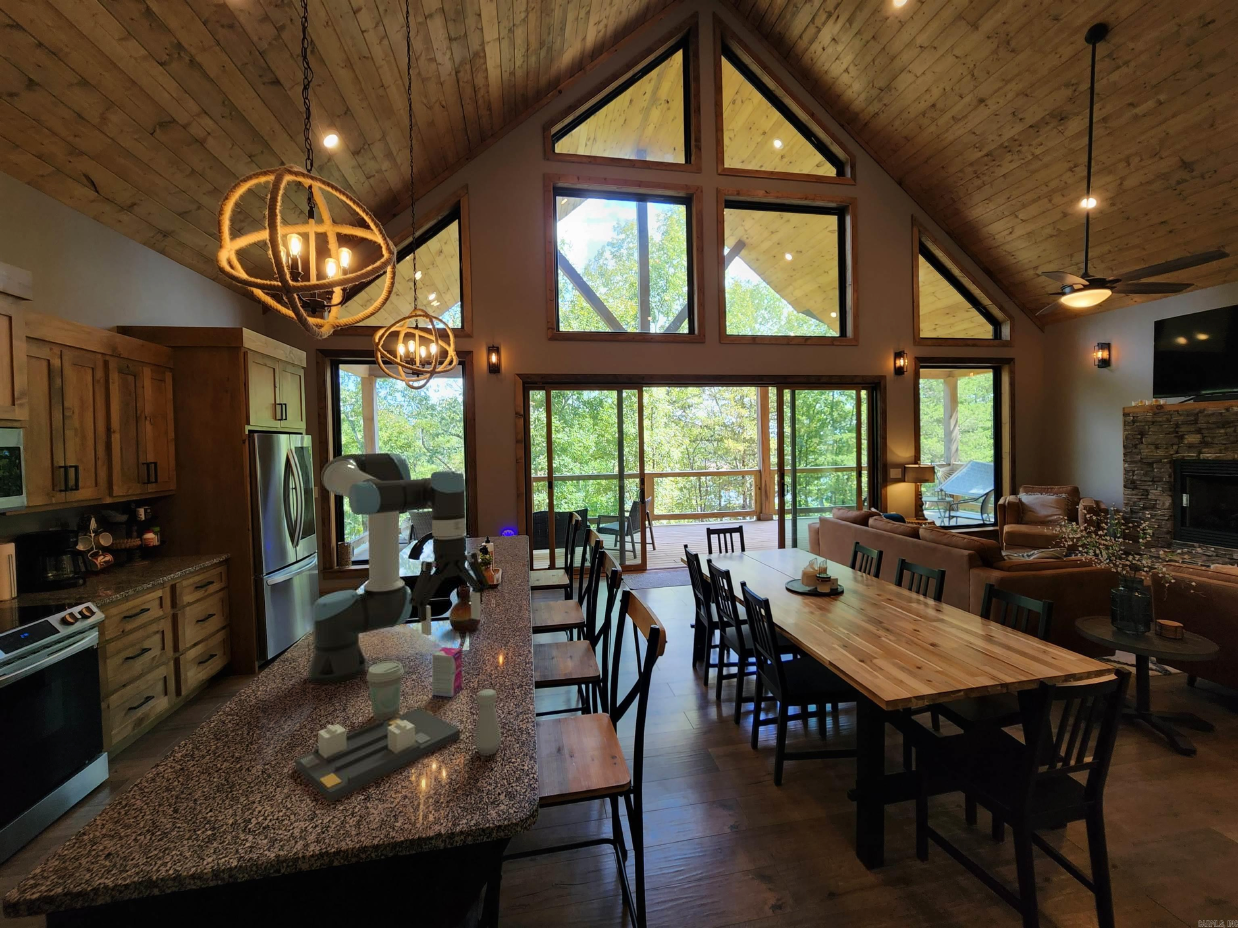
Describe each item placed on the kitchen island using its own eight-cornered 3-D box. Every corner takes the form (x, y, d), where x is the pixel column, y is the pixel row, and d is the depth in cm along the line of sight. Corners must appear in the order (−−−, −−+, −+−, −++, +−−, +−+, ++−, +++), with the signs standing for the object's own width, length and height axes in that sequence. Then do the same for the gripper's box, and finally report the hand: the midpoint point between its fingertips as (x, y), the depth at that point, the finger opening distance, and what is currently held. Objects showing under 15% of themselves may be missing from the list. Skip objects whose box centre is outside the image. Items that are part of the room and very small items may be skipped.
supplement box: (452, 698, 141) (451, 656, 140) (432, 697, 142) (430, 654, 141) (463, 689, 146) (462, 647, 146) (443, 687, 147) (442, 646, 147)
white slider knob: (318, 752, 113) (317, 728, 113) (338, 744, 116) (337, 720, 116) (326, 759, 110) (325, 734, 110) (346, 750, 113) (345, 726, 113)
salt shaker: (476, 743, 119) (475, 686, 119) (503, 741, 120) (501, 684, 119) (472, 758, 113) (470, 698, 113) (499, 757, 114) (498, 697, 113)
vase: (476, 633, 189) (475, 590, 189) (445, 634, 189) (444, 591, 189) (484, 623, 200) (483, 582, 200) (455, 623, 201) (454, 583, 200)
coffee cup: (368, 726, 127) (366, 676, 127) (366, 710, 135) (365, 664, 134) (406, 717, 131) (405, 669, 131) (403, 702, 139) (401, 657, 138)
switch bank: (295, 768, 111) (295, 755, 111) (420, 714, 132) (419, 703, 132) (330, 802, 100) (330, 787, 100) (460, 738, 122) (459, 725, 121)
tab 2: (388, 747, 114) (387, 724, 114) (405, 739, 117) (405, 716, 117) (397, 754, 112) (396, 730, 111) (415, 746, 115) (414, 722, 115)
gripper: (409, 546, 114) (412, 644, 114) (501, 530, 133) (504, 614, 134) (390, 543, 118) (393, 638, 119) (482, 528, 138) (484, 610, 138)
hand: (452, 626), depth 126 cm, fingers open, 13 cm apart
